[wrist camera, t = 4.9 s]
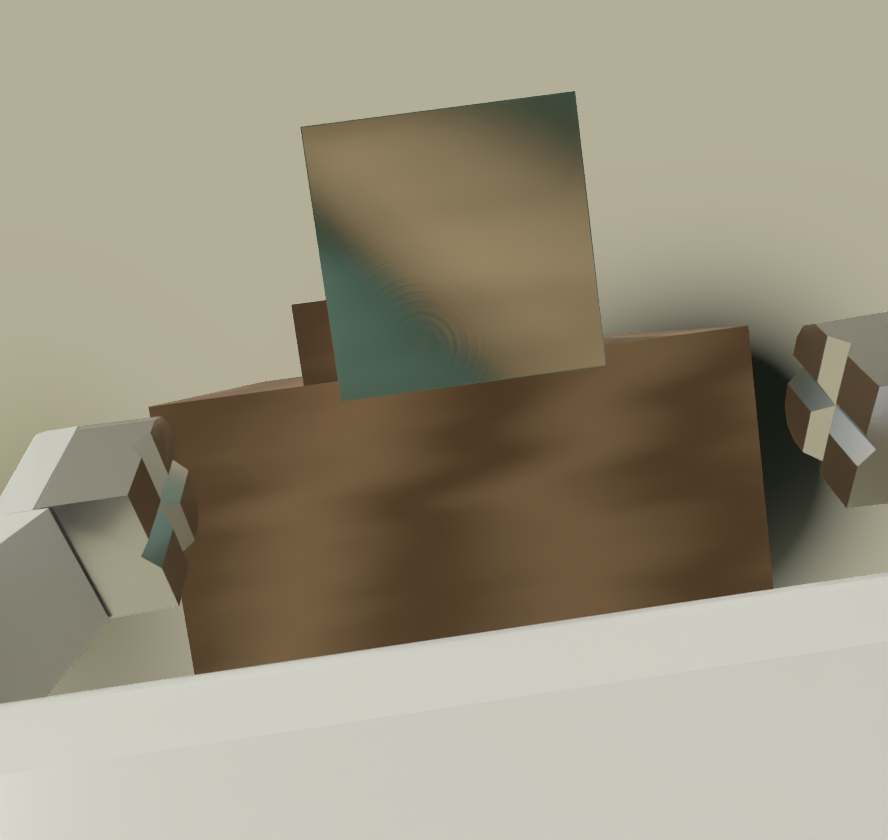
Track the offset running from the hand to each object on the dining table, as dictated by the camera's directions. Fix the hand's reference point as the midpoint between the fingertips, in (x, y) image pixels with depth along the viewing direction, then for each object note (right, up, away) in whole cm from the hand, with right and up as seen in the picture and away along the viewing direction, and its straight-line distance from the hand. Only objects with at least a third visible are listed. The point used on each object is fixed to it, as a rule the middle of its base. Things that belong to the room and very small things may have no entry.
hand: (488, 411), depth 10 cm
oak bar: (-1, +1, +12) cm, 12 cm away
